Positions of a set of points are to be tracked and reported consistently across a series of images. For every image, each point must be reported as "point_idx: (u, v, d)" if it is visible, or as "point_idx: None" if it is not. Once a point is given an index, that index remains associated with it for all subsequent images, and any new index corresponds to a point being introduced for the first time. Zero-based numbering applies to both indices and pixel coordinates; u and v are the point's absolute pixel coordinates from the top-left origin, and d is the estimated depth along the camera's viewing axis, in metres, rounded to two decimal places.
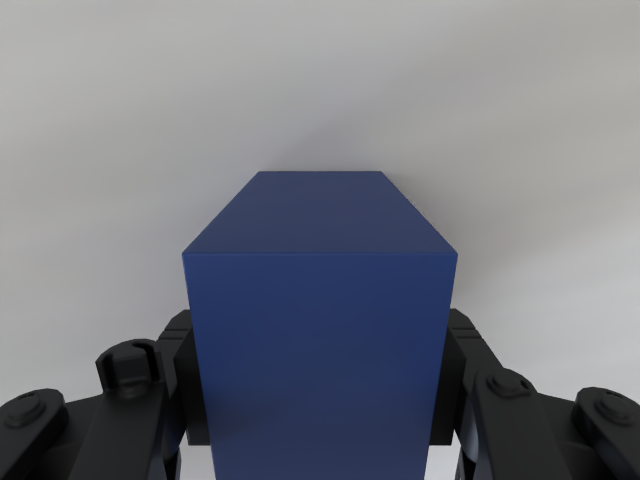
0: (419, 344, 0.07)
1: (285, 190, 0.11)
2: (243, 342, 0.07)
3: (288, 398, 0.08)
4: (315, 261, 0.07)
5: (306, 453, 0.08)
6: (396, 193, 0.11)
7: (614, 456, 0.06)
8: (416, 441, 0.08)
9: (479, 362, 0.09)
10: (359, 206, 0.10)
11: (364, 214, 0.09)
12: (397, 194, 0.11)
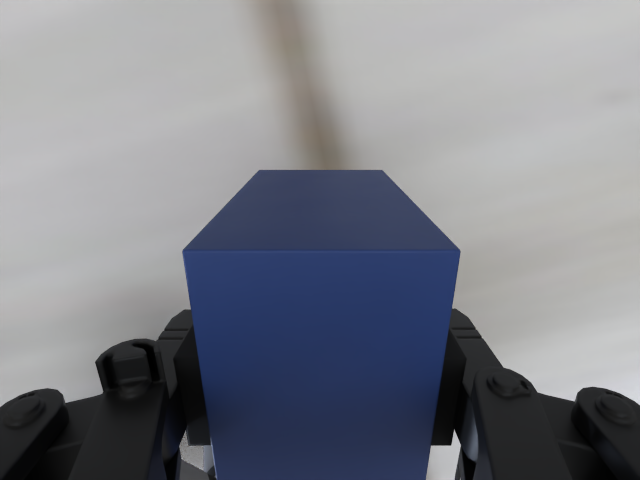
0: (421, 342, 0.07)
1: (286, 188, 0.11)
2: (244, 340, 0.07)
3: (289, 396, 0.08)
4: (316, 258, 0.07)
5: (308, 452, 0.08)
6: (397, 191, 0.11)
7: (614, 456, 0.06)
8: (418, 440, 0.08)
9: (479, 362, 0.09)
10: (360, 204, 0.10)
11: (365, 212, 0.09)
12: (398, 192, 0.11)
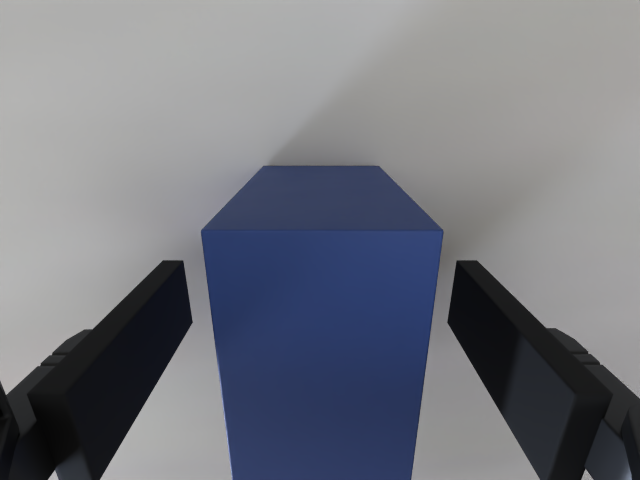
0: (410, 313, 0.08)
1: (289, 181, 0.12)
2: (254, 311, 0.08)
3: (294, 363, 0.09)
4: (318, 237, 0.08)
5: (310, 416, 0.09)
6: (392, 184, 0.12)
7: None
8: (408, 404, 0.09)
9: None
10: (357, 194, 0.11)
11: (361, 201, 0.10)
12: (392, 184, 0.12)
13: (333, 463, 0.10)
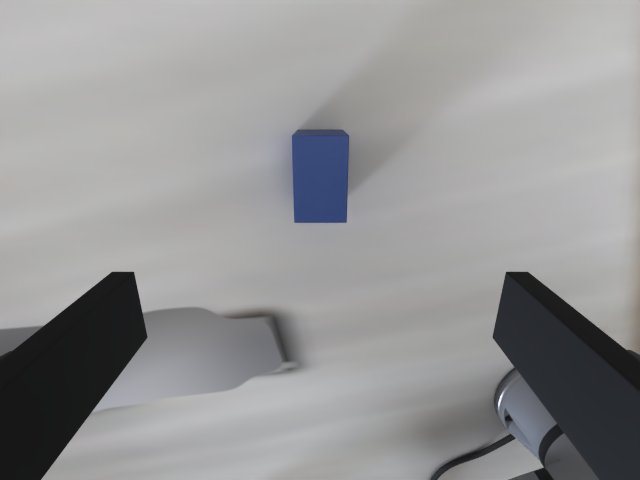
0: (342, 158, 0.33)
1: None
2: (303, 157, 0.33)
3: (313, 173, 0.33)
4: (319, 137, 0.32)
5: (317, 191, 0.34)
6: None
7: None
8: (344, 187, 0.34)
9: None
10: None
11: (331, 133, 0.34)
12: (343, 132, 0.36)
13: (323, 209, 0.34)
